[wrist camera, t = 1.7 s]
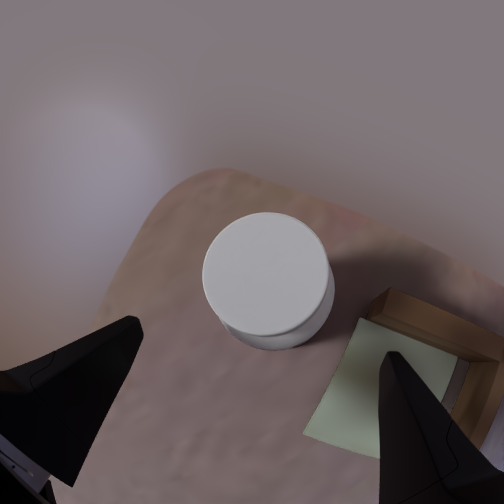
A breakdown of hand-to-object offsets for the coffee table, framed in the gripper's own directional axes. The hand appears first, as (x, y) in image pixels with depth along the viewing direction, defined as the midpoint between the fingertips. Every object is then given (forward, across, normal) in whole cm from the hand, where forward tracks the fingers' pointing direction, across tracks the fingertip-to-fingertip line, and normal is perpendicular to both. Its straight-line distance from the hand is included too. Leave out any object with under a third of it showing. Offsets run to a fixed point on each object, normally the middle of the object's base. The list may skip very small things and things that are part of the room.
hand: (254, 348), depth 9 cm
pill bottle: (+9, 0, +5) cm, 11 cm away
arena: (+4, -10, +10) cm, 15 cm away
